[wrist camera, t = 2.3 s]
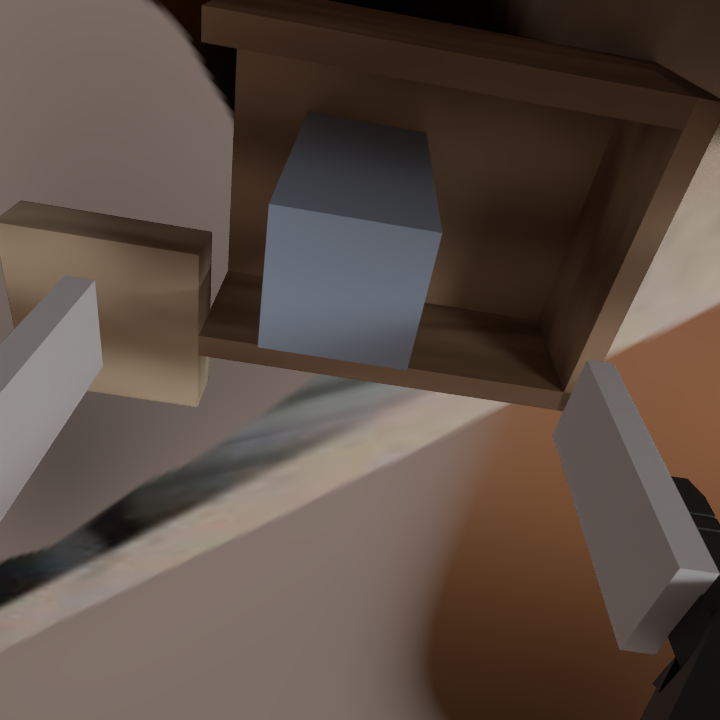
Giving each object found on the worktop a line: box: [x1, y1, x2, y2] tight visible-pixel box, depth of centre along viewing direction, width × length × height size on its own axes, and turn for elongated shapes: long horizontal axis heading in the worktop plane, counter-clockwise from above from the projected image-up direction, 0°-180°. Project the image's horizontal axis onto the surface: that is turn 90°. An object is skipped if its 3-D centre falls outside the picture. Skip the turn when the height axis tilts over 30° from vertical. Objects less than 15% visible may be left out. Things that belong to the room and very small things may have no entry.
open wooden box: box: [198, 0, 720, 411], centre depth 25 cm, size 13×16×6 cm
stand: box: [0, 201, 212, 407], centre depth 31 cm, size 9×9×2 cm
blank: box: [258, 112, 442, 370], centre depth 23 cm, size 5×5×10 cm
